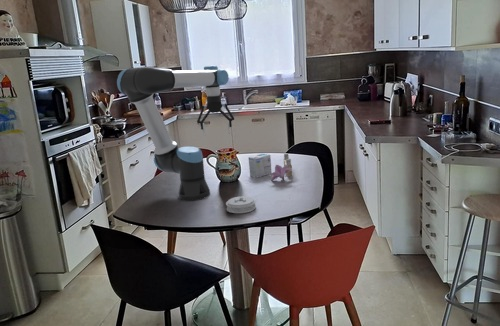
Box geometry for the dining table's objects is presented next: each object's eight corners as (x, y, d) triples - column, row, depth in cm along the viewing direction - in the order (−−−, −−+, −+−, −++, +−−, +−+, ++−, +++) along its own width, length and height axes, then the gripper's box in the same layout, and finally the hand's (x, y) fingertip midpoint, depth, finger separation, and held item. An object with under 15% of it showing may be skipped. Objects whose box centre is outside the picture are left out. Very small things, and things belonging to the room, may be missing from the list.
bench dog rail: (292, 176, 226) (291, 159, 223) (286, 176, 226) (285, 160, 223) (289, 168, 241) (288, 153, 239) (284, 169, 241) (283, 153, 239)
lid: (249, 203, 190) (248, 192, 189) (261, 211, 179) (260, 200, 178) (222, 208, 186) (221, 197, 184) (232, 217, 174) (231, 206, 173)
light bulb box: (264, 171, 239) (263, 152, 237) (272, 173, 234) (270, 154, 231) (249, 175, 233) (247, 156, 230) (257, 178, 228) (255, 158, 225)
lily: (296, 180, 221) (289, 163, 223) (294, 178, 209) (287, 160, 211) (274, 189, 222) (268, 172, 224) (271, 187, 211) (265, 169, 213)
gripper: (236, 92, 233) (239, 131, 238) (190, 96, 232) (194, 135, 237) (236, 93, 226) (240, 133, 231) (189, 97, 225) (193, 137, 230)
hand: (217, 134), depth 234 cm, fingers open, 13 cm apart
